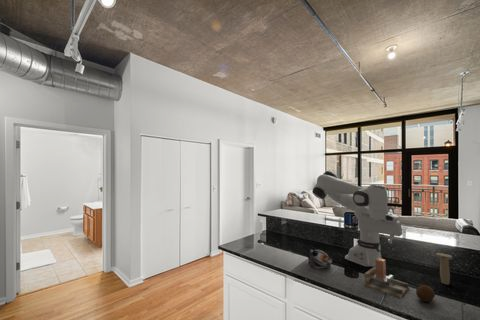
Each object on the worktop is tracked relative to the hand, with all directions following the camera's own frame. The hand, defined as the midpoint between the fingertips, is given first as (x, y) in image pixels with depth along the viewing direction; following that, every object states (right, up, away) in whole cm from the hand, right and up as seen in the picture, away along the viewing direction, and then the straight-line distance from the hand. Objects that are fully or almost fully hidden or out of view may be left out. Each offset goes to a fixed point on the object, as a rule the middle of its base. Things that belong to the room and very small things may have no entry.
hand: (379, 241), depth 121 cm
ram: (0, -21, -2) cm, 21 cm away
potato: (+12, -22, -15) cm, 30 cm away
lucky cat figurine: (-24, -24, +22) cm, 40 cm away
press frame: (+2, -23, -3) cm, 23 cm away
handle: (+35, -23, 0) cm, 42 cm away
